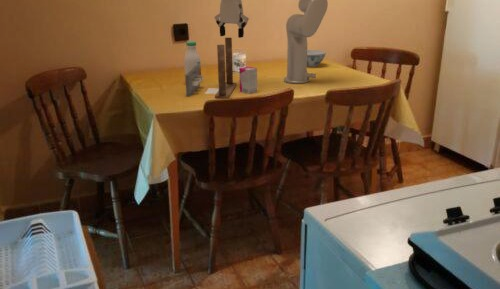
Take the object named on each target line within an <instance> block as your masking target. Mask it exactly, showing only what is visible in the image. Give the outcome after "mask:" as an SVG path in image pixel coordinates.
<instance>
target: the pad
mask: <svg viewBox="0 0 500 289" xmlns="http://www.w3.org/2000/svg"><path fill="white" fill-rule="evenodd" d="M218 91H219V87H208V88H207V90H206V91H205V92H204V95H206V94H207V95H216V93H217V92H218Z"/></svg>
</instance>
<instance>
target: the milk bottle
mask: <svg viewBox="0 0 500 289" xmlns="http://www.w3.org/2000/svg"><path fill="white" fill-rule="evenodd" d="M183 61H184V65H183V66H184V76H185V75H186V74H187V73H188V72H190V71H191V70H192V69H193V68H194V67H195V66H199V76H202V67H201V66H202V65H201V58H200V55H199V53H198V50H197V42H196V41H195V40H189V41H186V52H185V55H184V60H183ZM184 79H185V78H184ZM185 82H186V79H185Z"/></svg>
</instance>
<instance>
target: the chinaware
mask: <svg viewBox="0 0 500 289" xmlns="http://www.w3.org/2000/svg"><path fill="white" fill-rule="evenodd" d="M325 57H326V51H325V50H319V49H318V50H317V49H307V66H308V67H307V68H316V67H319V66H318V65H319V64H321V63H322V62H323V61H324V59H325Z"/></svg>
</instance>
